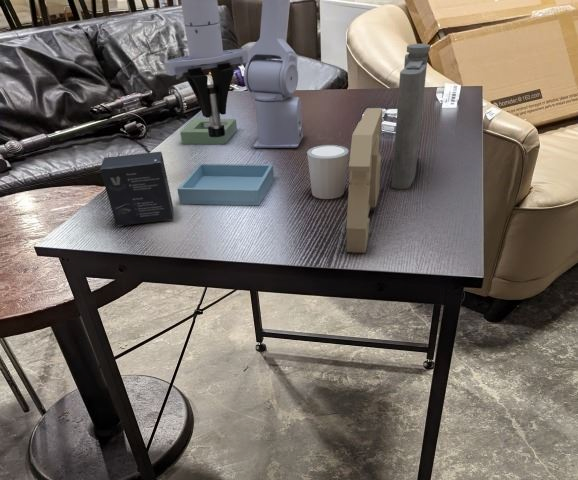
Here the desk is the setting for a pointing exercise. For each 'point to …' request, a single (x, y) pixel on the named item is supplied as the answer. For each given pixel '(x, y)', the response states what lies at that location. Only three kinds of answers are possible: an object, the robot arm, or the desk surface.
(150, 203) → the box
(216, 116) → the silver black capped cylinder
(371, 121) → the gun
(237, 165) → the tray
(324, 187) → the white cup
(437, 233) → the desk surface
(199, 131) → the green square holder
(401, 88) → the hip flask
